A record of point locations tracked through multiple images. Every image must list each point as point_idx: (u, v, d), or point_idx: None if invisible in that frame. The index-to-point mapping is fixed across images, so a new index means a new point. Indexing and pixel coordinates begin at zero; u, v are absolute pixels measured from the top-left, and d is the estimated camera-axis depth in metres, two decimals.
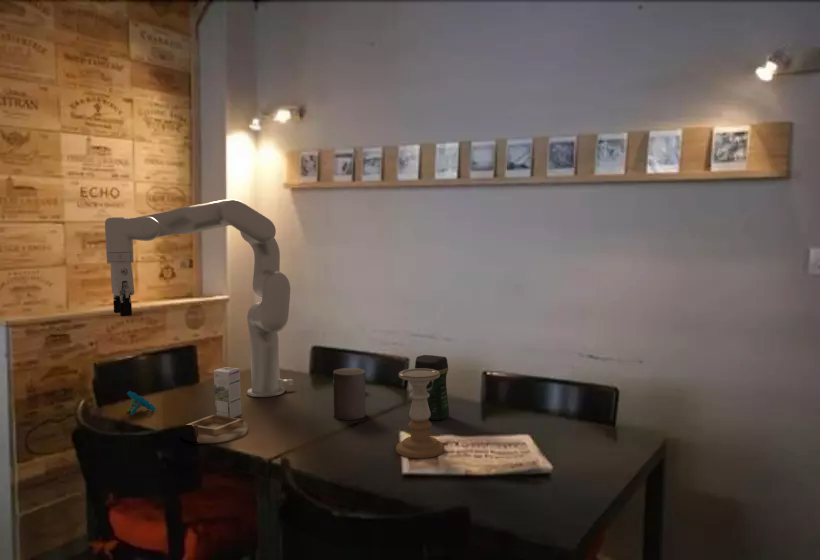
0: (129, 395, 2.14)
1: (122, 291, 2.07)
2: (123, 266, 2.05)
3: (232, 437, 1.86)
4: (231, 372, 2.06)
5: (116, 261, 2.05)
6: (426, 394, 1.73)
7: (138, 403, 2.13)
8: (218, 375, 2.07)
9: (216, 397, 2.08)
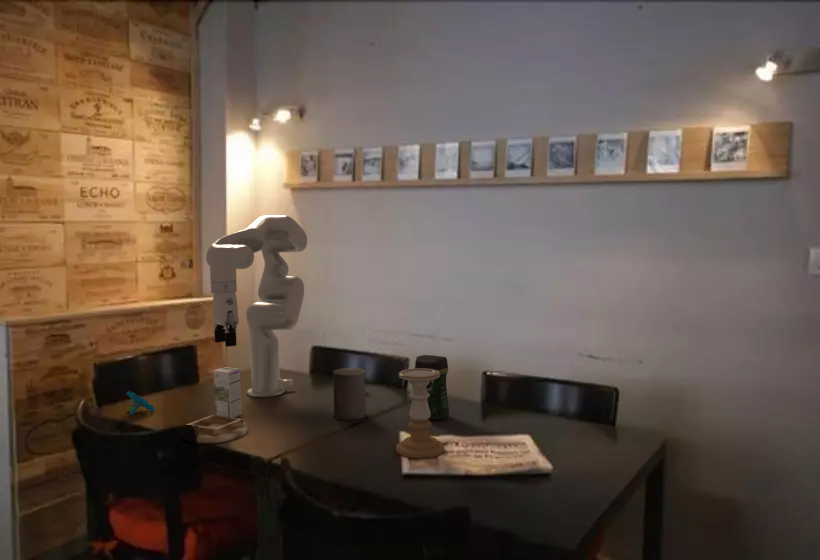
0: (128, 395, 2.14)
1: (227, 321, 2.04)
2: (228, 296, 2.03)
3: (232, 437, 1.86)
4: (231, 372, 2.06)
5: (221, 291, 2.03)
6: (426, 394, 1.73)
7: (137, 403, 2.13)
8: (218, 375, 2.07)
9: (216, 397, 2.08)
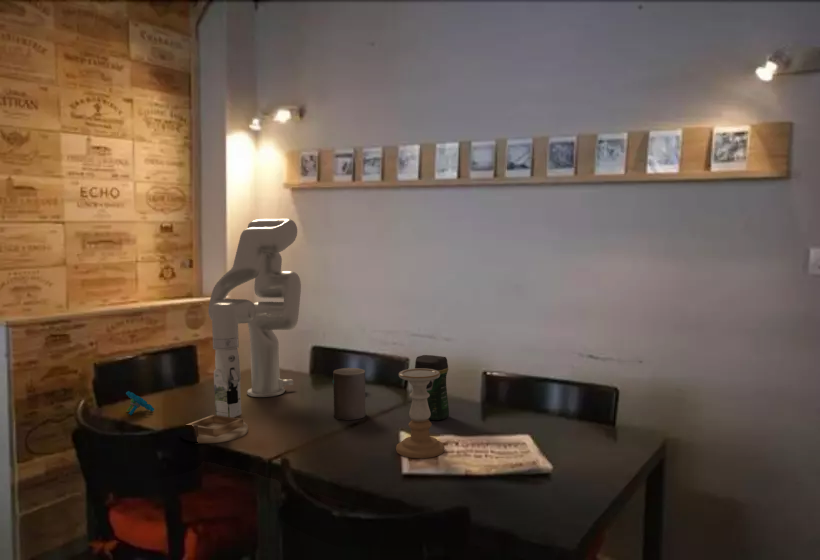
0: (128, 395, 2.14)
1: None
2: (231, 353, 2.04)
3: (232, 437, 1.86)
4: None
5: (224, 348, 2.04)
6: (426, 394, 1.73)
7: (137, 403, 2.13)
8: (218, 375, 2.07)
9: (216, 397, 2.08)
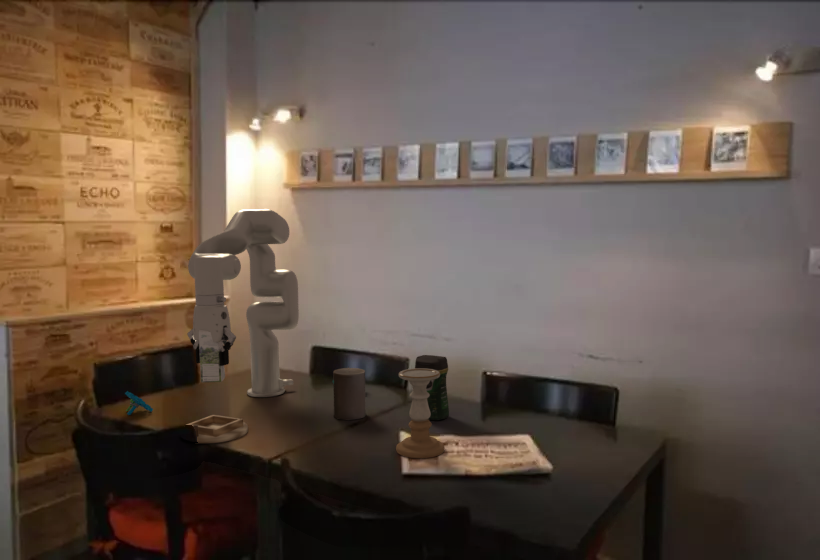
0: (127, 395, 2.14)
1: None
2: (223, 309, 1.88)
3: (232, 437, 1.86)
4: None
5: (215, 304, 1.87)
6: (426, 394, 1.73)
7: (135, 403, 2.13)
8: (206, 335, 1.87)
9: (202, 360, 1.88)
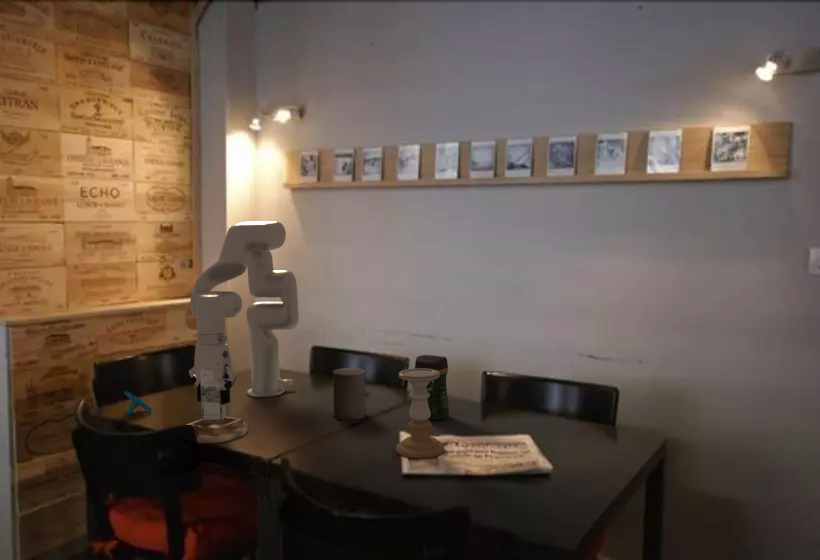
0: (126, 395, 2.14)
1: None
2: (224, 348, 1.88)
3: (232, 437, 1.86)
4: None
5: (216, 343, 1.87)
6: (426, 394, 1.73)
7: (134, 403, 2.13)
8: (207, 374, 1.88)
9: (204, 399, 1.89)
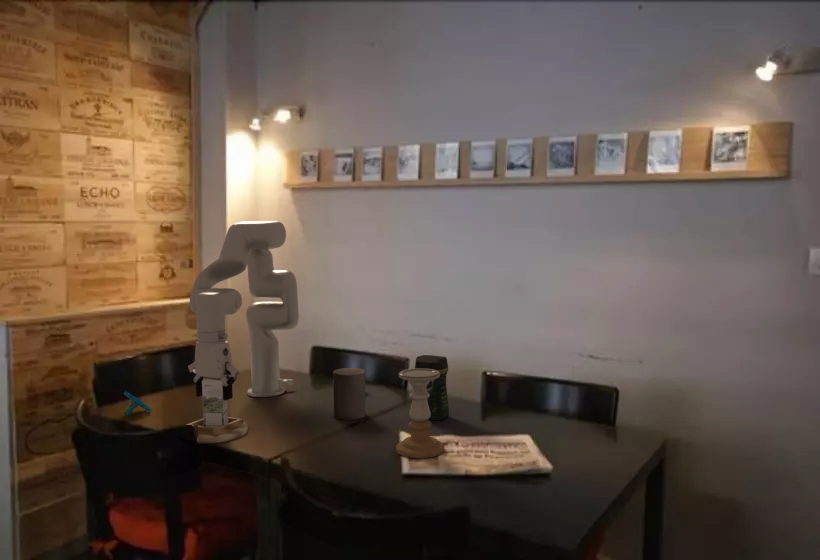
0: (126, 395, 2.14)
1: None
2: (224, 346, 1.89)
3: (232, 437, 1.86)
4: None
5: (216, 341, 1.88)
6: (426, 394, 1.73)
7: (134, 403, 2.13)
8: (209, 385, 1.88)
9: (205, 410, 1.89)
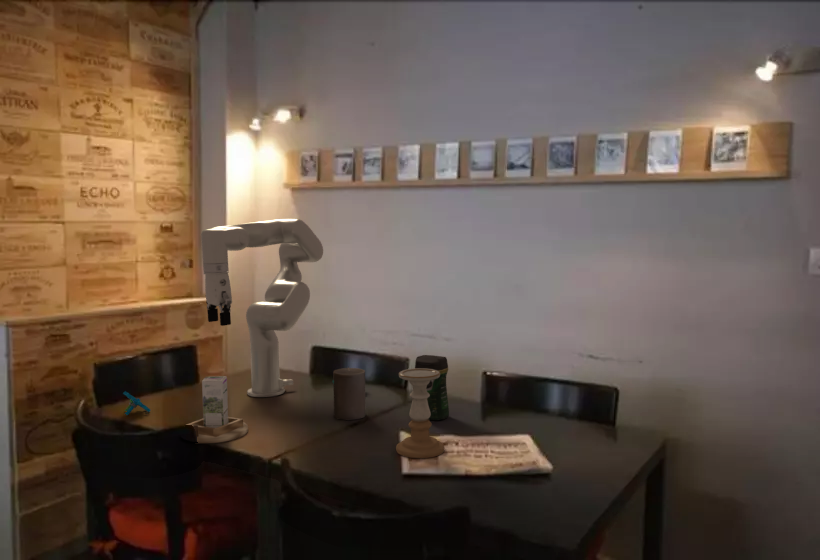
0: None
1: (220, 301, 2.12)
2: (222, 277, 2.10)
3: (232, 437, 1.86)
4: (223, 380, 1.90)
5: (215, 272, 2.10)
6: (426, 394, 1.73)
7: (133, 404, 2.13)
8: (209, 385, 1.88)
9: (205, 410, 1.89)
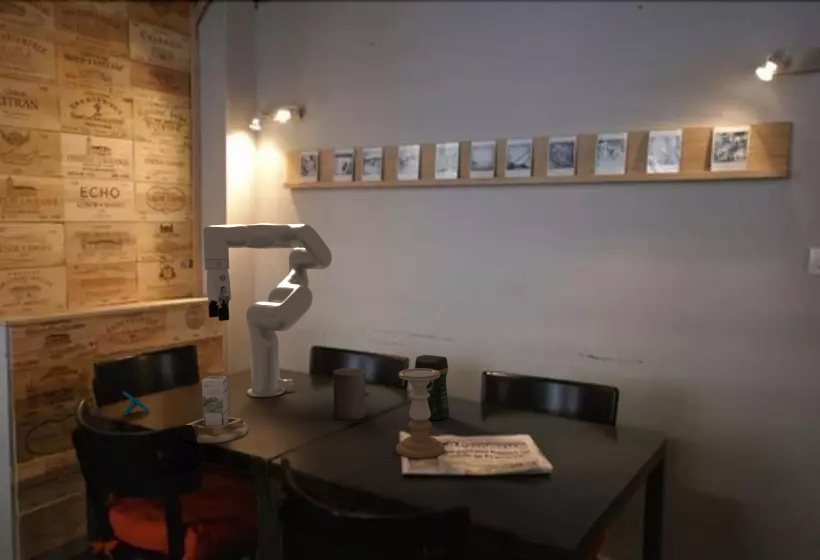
0: (125, 395, 2.14)
1: (220, 296, 2.15)
2: (221, 272, 2.14)
3: (232, 437, 1.86)
4: (223, 380, 1.90)
5: (215, 268, 2.14)
6: (426, 394, 1.73)
7: (132, 404, 2.13)
8: (209, 385, 1.88)
9: (205, 410, 1.89)
